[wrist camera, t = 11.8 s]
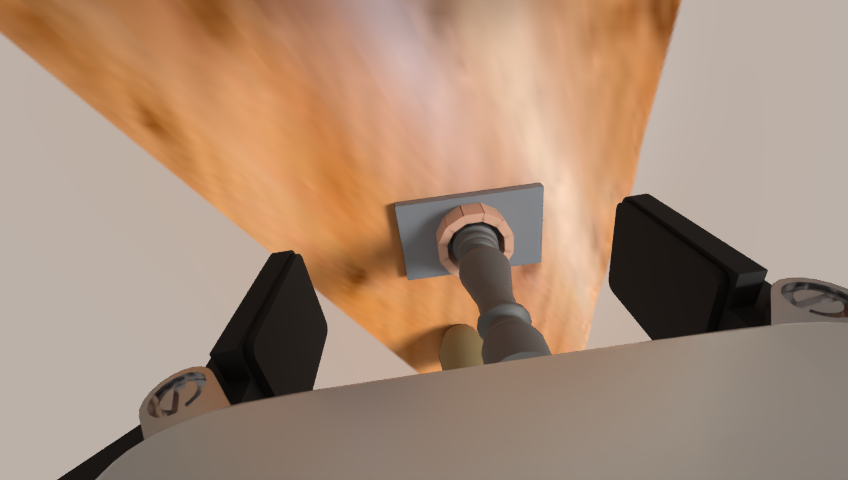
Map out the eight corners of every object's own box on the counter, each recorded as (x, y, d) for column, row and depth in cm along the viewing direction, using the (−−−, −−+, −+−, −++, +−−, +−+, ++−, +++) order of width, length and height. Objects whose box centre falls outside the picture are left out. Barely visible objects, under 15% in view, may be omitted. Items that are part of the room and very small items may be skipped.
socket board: (539, 182, 50) (553, 196, 46) (537, 257, 56) (549, 275, 52) (395, 202, 50) (394, 217, 46) (407, 274, 56) (408, 294, 52)
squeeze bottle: (435, 320, 61) (448, 418, 45) (484, 316, 61) (513, 413, 45) (437, 355, 65) (448, 457, 49) (482, 352, 65) (509, 452, 49)
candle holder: (485, 256, 54) (544, 406, 32) (444, 249, 53) (475, 398, 31) (499, 219, 51) (573, 354, 29) (456, 210, 50) (499, 344, 28)
